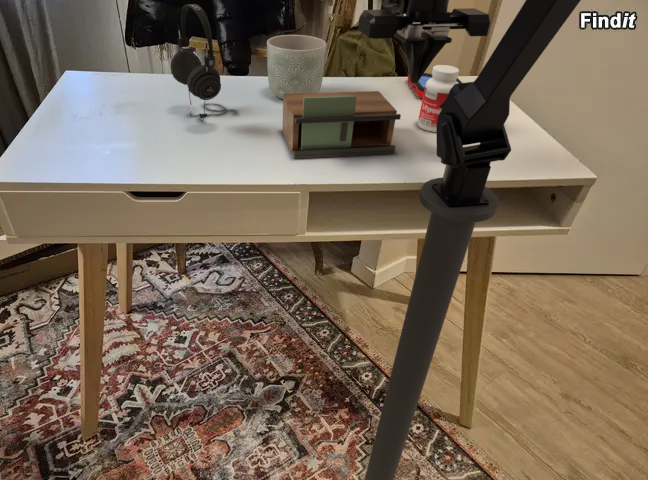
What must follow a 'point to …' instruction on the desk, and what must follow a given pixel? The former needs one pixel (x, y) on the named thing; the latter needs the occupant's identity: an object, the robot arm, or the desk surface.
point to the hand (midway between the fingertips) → (413, 82)
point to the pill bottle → (436, 95)
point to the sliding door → (328, 131)
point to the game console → (422, 84)
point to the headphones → (196, 63)
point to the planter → (295, 64)
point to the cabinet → (368, 127)
